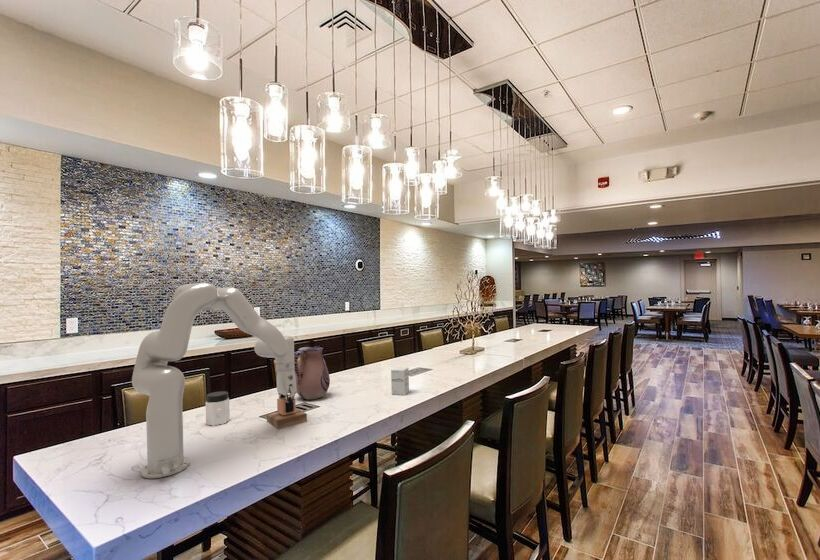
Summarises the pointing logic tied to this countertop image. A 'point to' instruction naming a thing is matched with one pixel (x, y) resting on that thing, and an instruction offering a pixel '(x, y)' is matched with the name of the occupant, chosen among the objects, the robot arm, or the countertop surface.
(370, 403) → the countertop surface
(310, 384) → the ceramic pitcher
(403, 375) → the supplement box
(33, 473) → the countertop surface
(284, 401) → the cube
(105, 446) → the countertop surface
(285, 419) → the block
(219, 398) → the jar
